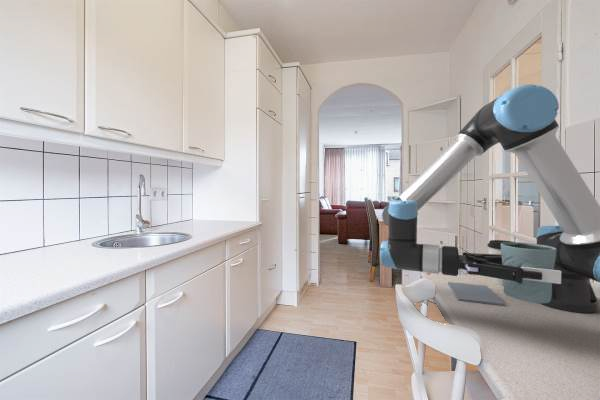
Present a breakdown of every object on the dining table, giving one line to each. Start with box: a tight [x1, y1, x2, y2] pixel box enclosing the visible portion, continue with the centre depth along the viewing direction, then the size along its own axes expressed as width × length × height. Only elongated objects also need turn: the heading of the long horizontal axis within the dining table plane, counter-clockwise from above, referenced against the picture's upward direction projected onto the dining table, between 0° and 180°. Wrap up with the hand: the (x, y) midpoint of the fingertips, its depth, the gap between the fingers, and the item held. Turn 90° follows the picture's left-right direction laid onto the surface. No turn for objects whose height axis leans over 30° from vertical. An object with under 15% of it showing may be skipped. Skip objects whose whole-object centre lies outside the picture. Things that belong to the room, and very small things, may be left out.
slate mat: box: [447, 281, 506, 307], centre depth 88 cm, size 12×16×1 cm
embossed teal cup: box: [501, 241, 557, 304], centre depth 64 cm, size 10×10×12 cm
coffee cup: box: [487, 239, 513, 287], centre depth 97 cm, size 10×10×15 cm
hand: (551, 270), depth 62 cm, fingers closed on embossed teal cup, 9 cm apart
